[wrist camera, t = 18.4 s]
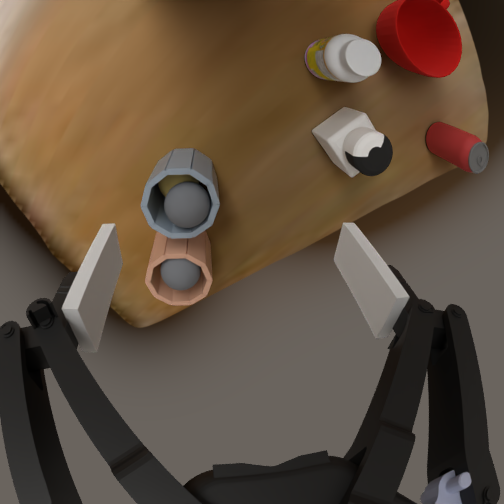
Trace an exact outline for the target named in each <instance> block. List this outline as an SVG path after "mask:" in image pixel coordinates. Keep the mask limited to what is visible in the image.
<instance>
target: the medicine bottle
mask: <svg viewBox="0 0 504 504" xmlns="http://www.w3.org/2000/svg"><path fill="white" fill-rule="evenodd" d="M312 133H313V135H314V136H315V137H316V139H317V140H318V142H319V143H320V144H321V146H322V147H323V149H324V150H325V152H326V153H327V154H328V156H329V157H330V159H331V160H332V162H333V163H334V164H335V165H336V166H338V167H339V168H340V169H341V170H343V171H344V172H345V173H346V174H348V175H349V176H350V177H354V176H355V175H357V174H358V173H359V172H361V173H362V174H364V175H367V176H375V175H378V174H380V173H382V172H383V171H385V170H386V168H387V167H388V166H389V164H390V162H391V159H392V155H393V150H392V145H391V142H390V140H389V139H388V138H387V137H386V136H385V135H384V134H382V133H380V132H377V131H376V130H375V128H374V126H373V125H372V123H371V121H370V119H369V118H368V116H367V114H366V113H364V112H361V111H358V110H354V109H351V108H348V107H343V108H342V109H340V110H339V111H337V112H336V113H335V114H333V115H332V116H330V117H329V118H328V119H326V120H325V121H324V122H322V123H321V124H319V125H318V126H317V127H315V128H314V129H313V130H312Z"/></svg>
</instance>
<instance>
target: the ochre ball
mask: <svg viewBox="0 0 504 504" xmlns="http://www.w3.org/2000/svg"><path fill="white" fill-rule="evenodd" d="M181 182H194V183H197V184H199V180H197V179H196V178H194V177H193V176H191V175H190V174H184V175H167V176H166V177H164V178H163V179H162V180H161V181H159V182H158V185H159V189H160V191H161V193H162V194H163V195H164V196H165V197H166V195H167V193H168V192H169V190H170V189H171V188H172V187H173V186H175V185H176V184H178V183H181Z"/></svg>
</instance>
